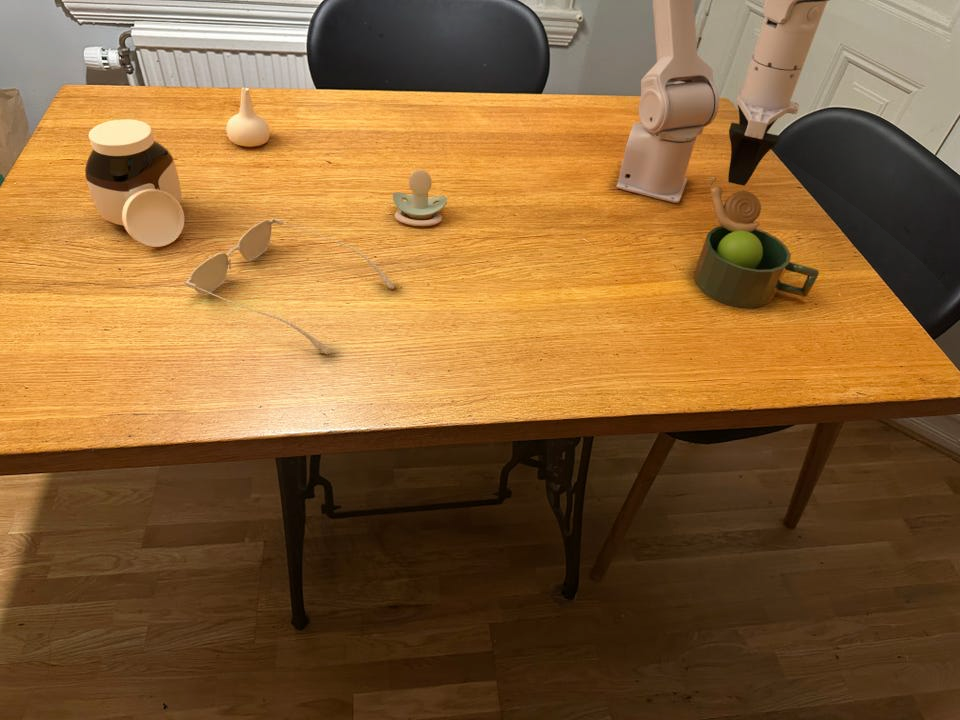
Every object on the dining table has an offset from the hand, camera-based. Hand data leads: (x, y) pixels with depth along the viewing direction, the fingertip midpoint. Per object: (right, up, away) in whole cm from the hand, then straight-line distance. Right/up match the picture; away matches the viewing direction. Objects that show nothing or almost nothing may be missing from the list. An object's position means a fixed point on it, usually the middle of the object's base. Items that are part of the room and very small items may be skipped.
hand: (740, 170), depth 89 cm
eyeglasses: (-54, -17, -8) cm, 58 cm away
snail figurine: (-1, -14, -2) cm, 14 cm away
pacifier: (-42, -5, +6) cm, 42 cm away
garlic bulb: (-69, +9, +18) cm, 72 cm away
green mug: (+1, -15, -1) cm, 15 cm away
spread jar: (-75, -7, 0) cm, 76 cm away
